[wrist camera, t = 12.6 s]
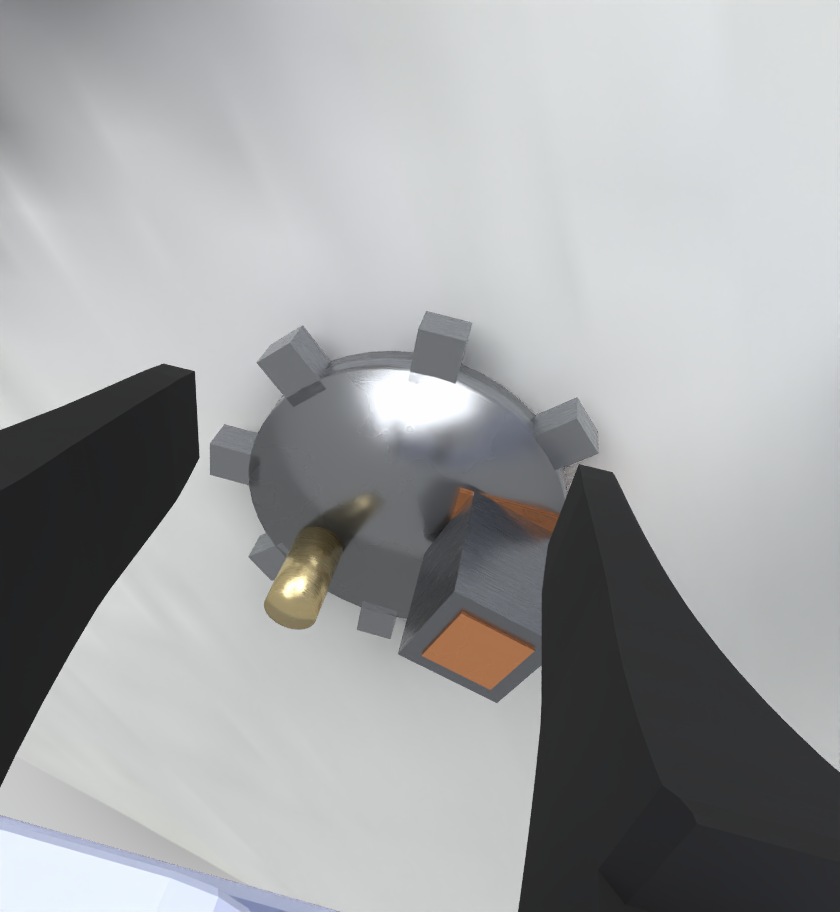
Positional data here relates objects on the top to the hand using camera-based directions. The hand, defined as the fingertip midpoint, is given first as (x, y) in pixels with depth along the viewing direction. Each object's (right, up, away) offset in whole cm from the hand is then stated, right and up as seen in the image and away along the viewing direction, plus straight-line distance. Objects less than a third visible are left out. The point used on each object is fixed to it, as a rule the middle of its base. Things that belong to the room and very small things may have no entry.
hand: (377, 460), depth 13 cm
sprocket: (0, -1, +12) cm, 12 cm away
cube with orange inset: (+3, -3, +11) cm, 12 cm away
